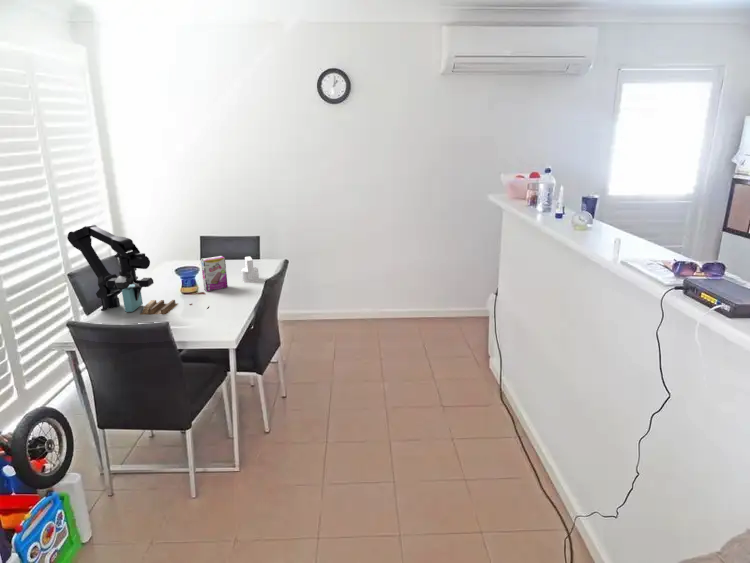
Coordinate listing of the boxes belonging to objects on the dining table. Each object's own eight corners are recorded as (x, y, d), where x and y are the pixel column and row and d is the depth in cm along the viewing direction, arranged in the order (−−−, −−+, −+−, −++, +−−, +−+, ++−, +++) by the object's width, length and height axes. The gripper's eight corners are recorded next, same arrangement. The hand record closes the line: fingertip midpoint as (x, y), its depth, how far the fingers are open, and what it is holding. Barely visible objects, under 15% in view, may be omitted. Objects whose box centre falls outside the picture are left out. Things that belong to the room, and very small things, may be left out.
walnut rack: (139, 316, 221) (138, 310, 220) (153, 305, 235) (152, 299, 234) (166, 316, 221) (165, 309, 220) (179, 305, 234) (178, 299, 233)
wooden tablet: (210, 309, 230) (209, 306, 230) (187, 312, 227) (186, 309, 226) (207, 292, 254) (206, 289, 253) (186, 295, 250) (185, 292, 250)
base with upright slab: (260, 281, 270) (258, 259, 266) (243, 283, 266) (241, 261, 263) (257, 276, 278) (255, 255, 274) (241, 278, 274) (239, 257, 271)
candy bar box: (207, 292, 253) (203, 260, 248) (203, 289, 257) (200, 258, 252) (228, 287, 259) (225, 257, 254) (225, 285, 263) (221, 255, 258)
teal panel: (125, 311, 223) (121, 290, 220) (135, 304, 232) (132, 283, 229) (132, 311, 223) (128, 290, 220) (142, 304, 232) (139, 283, 229)
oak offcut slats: (142, 312, 223) (141, 307, 222) (152, 305, 232) (151, 300, 232) (148, 312, 223) (147, 307, 222) (158, 305, 232) (157, 299, 232)
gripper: (96, 272, 214) (103, 306, 219) (139, 272, 214) (145, 306, 219) (110, 265, 225) (116, 298, 230) (151, 265, 225) (156, 298, 229)
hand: (133, 300), depth 226 cm, fingers closed on teal panel, 3 cm apart
